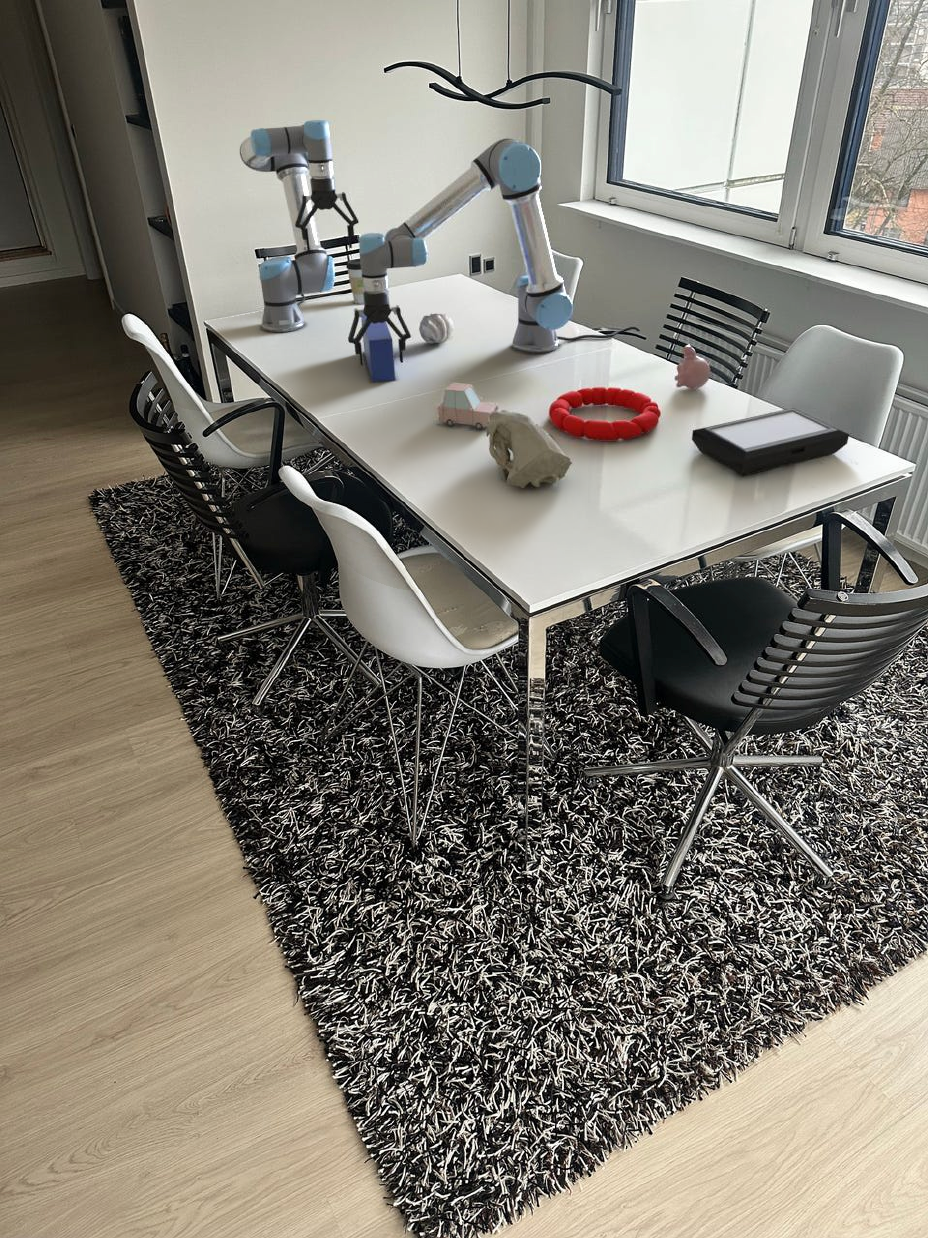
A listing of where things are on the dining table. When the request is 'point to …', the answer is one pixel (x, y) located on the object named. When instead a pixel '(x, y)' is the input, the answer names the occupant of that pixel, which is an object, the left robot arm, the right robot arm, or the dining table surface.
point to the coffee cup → (356, 280)
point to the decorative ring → (604, 428)
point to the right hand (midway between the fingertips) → (381, 362)
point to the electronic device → (769, 441)
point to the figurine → (692, 370)
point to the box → (379, 351)
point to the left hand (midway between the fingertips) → (329, 248)
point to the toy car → (465, 406)
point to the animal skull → (525, 450)
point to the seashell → (436, 328)
